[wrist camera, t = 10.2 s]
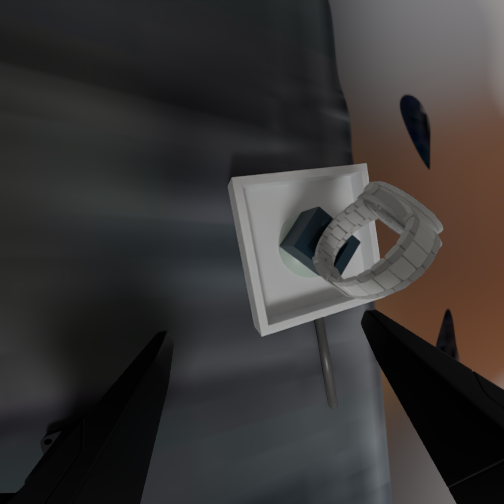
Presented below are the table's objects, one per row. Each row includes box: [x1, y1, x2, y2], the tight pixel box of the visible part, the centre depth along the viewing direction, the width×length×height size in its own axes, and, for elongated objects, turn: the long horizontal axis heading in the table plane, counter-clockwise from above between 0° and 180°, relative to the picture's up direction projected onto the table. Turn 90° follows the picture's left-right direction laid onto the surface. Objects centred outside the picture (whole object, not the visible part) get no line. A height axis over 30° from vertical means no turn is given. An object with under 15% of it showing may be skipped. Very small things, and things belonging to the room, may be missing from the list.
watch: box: [279, 181, 443, 299], centre depth 16 cm, size 6×8×11 cm
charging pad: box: [228, 163, 385, 410], centre depth 21 cm, size 27×15×3 cm, turn 11°
